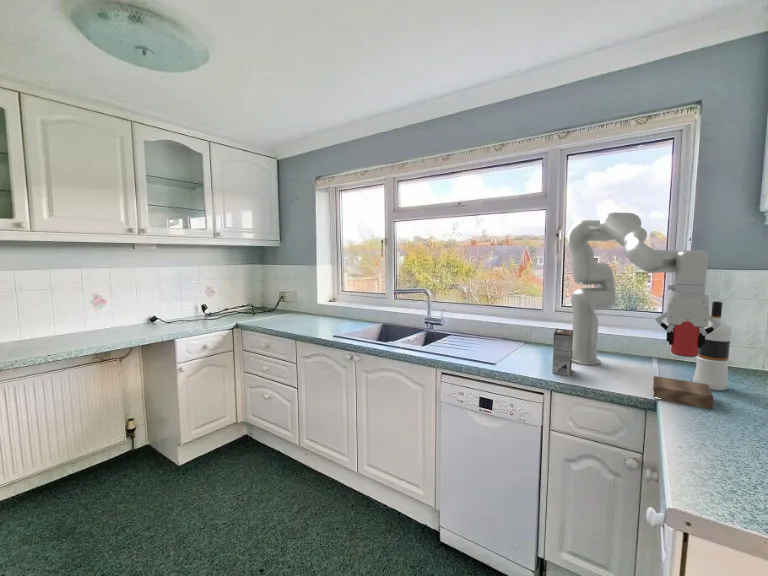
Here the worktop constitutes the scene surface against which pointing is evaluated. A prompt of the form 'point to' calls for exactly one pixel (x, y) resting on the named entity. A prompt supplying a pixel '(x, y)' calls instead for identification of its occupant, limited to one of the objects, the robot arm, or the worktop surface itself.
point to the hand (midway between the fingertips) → (684, 345)
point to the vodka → (714, 354)
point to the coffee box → (562, 351)
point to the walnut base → (683, 392)
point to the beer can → (685, 340)
